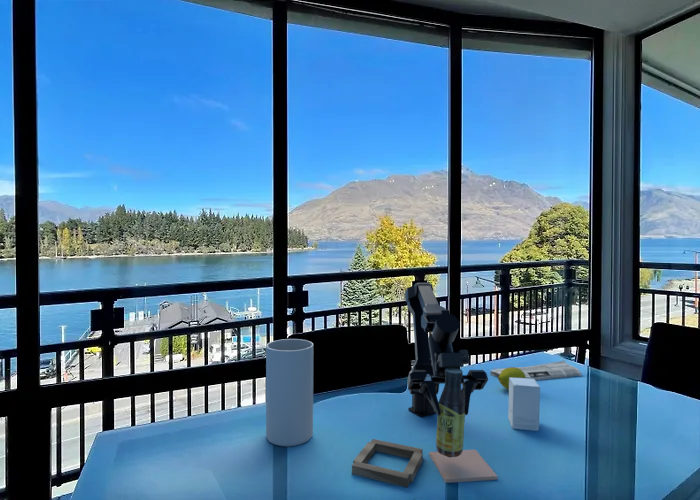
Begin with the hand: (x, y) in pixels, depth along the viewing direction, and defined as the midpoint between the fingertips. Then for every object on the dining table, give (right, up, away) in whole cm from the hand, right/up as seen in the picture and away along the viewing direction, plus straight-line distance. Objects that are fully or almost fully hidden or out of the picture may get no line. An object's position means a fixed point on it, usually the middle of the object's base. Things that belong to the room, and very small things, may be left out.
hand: (452, 414), depth 100 cm
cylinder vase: (-40, -13, +17) cm, 45 cm away
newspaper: (+50, -12, +71) cm, 87 cm away
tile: (+3, -13, +2) cm, 14 cm away
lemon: (+34, -12, +53) cm, 64 cm away
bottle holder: (-15, -13, +3) cm, 20 cm away
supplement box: (+26, -13, +25) cm, 39 cm away
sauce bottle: (0, -10, +2) cm, 10 cm away
